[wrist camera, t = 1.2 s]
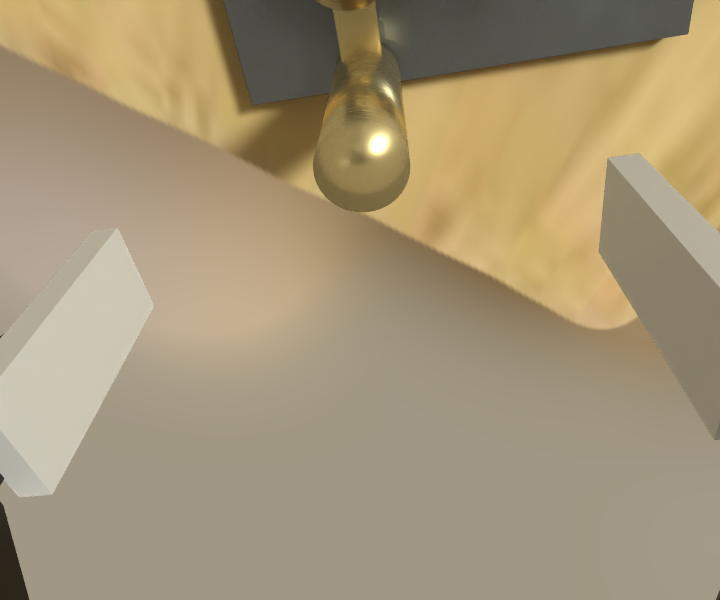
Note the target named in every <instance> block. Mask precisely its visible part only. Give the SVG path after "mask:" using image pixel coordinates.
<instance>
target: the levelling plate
mask: <svg viewBox="0 0 720 600" xmlns="http://www.w3.org/2000/svg"><path fill="white" fill-rule="evenodd" d="M223 1H224V4H225V8H226V12H227V15H228V19H229V22H230V26H231V30H232V33H233V37H234V40H235V44H236V48H237V51H238V55H239V59H240V62H241V66H242V69H243V73H244V77H245V80H246V84H247V87H248V91H249V95H250V98H251V102H252V105H258V104H264V103H271V102H277V101H283V100H289V99H295V98H301V97H307V96H313V95H319V94H326V93H330V89H331V84H332V80H333V76H334V72H335V68H336V64H337V62H338V60H339V58H340V56H341V54H340V48H339V42H338V37H337V31H336V25H335V20H334V14H333V9H331V8H328V7H326V6H324V5H322V4H320V3H319V2H317V1H316V0H223ZM693 2H694V0H376V1H375V3H376V10H377V18H378V25H379V33H380V40H381V45H382V46H384V47H385V48H387V49H388V50H389V51H390V52H391V53H392V54H393V55H394V57H395V59H396V61H397V63H398V66H399V70H400V78H401V81H405V80H411V79H417V78H423V77H429V76H435V75H441V74H448V73H454V72H460V71H466V70H472V69H478V68H484V67H490V66H496V65H502V64H509V63H515V62H521V61H527V60H533V59H539V58H545V57H551V56H557V55H564V54H570V53H576V52H582V51H588V50H594V49H600V48H606V47H612V46H618V45H625V44H631V43H637V42H643V41H649V40H655V39H661V38H667V37H673V36H679V35H686V34H688V32H689V26H690V20H691V14H692V8H693Z"/></svg>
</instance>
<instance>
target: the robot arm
mask: <svg viewBox="0 0 720 600" xmlns="http://www.w3.org/2000/svg"><path fill="white" fill-rule="evenodd" d="M599 253H600V255H601V256H602V258H603V260H604V261H605V263H606V264H607V266H608V268H609V269H610V271H611V273H612V274H613V276H614V278H615V279H616V281H617V282H618V284H619V286H620V287H621V289H622V291H623V292H624V294H625V295H626V297H627V299H628V300H629V302H630V304H631V305H632V307H633V309H634V310H635V312H636V313H637V315H638V317H639V318H640V320H641V322H642V323H643V325H644V326H645V328H646V330H647V331H648V333H649V335H650V336H651V338H652V339H653V341H654V343H655V344H656V346H657V347H658V349H659V351H660V352H661V354H662V356H663V357H664V359H665V360H666V362H667V364H668V365H669V367H670V369H671V370H672V372H673V374H674V375H675V377H676V379H677V380H678V382H679V384H680V385H681V387H682V388H683V390H684V392H685V393H686V395H687V397H688V398H689V400H690V401H691V403H692V405H693V406H694V408H695V409H696V411H697V413H698V415H699V416H700V418H701V419H702V421H703V423H704V424H705V426H706V428H707V429H708V431H709V432H710V434H711V436H712V437H713V439H714V440H720V233H719V232H718V231H717V230H716V229H715V228H714V227H713V226H712V225H711V224H710V223H709V222H708V221H707V220H706V219H705V218H704V217H703V216H702V215H701V214H700V213H699V212H698V211H697V210H696V209H695V208H694V207H693V206H692V205H691V204H690V203H689V202H688V201H687V200H686V199H685V198H684V197H683V196H682V195H681V194H680V193H679V192H678V191H677V190H676V189H675V188H674V187H673V186H672V185H671V184H670V183H669V182H668V181H667V180H666V179H665V178H664V177H663V176H662V175H661V174H660V173H659V172H658V171H657V170H656V169H655V168H654V167H653V166H652V165H651V164H650V163H649V162H648V161H647V160H646V159H645V158H644V157H643V156H642V155H641V154H640V153H639V154H632V155H625V156H618V157H611V158H608V159H607V170H606V180H605V191H604V201H603V212H602V222H601V233H600V243H599ZM153 308H154V304H153V302H152V300H151V298H150V295H149V293H148V291H147V289H146V287H145V285H144V283H143V281H142V279H141V277H140V275H139V272H138V270H137V268H136V266H135V264H134V262H133V260H132V258H131V255H130V254H129V251H128V249H127V247H126V245H125V243H124V241H123V238H122V236H121V234H120V232H119V230H118V228H110V229H103V230H97V231H92V232H91V233H90V234H89V235H88V236H87V237H86V238H85V240H84V241H83V242H82V243H81V244H80V246H79V247H78V248H77V249H76V250H75V251H74V253H73V254H72V255H71V256H70V257H69V258H68V260H67V261H66V262H65V263H64V264H63V266H62V267H61V268H60V269H59V270H58V271H57V272H56V274H55V275H54V276H53V277H52V278H51V280H50V281H49V282H48V283H47V284H46V286H45V287H44V288H43V289H42V290H41V291H40V292H39V294H38V295H37V296H36V297H35V298H34V299H33V301H32V302H31V303H30V304H29V305H28V307H27V308H26V309H25V310H24V311H23V312H22V314H21V315H20V316H19V317H18V318H17V320H16V321H15V322H14V323H13V324H12V325H11V326H10V328H9V329H8V330H7V331H6V332H5V333H4V334H3V335H2V336H0V485H1V483H2V482H3V480H5V482H6V483H7V484H8V485H9V486H10V487H11V489H12V490H13V491H14V492H15V493H16V494H17V496H18V497H27V496H39V495H51V494H53V492H54V490H55V488H56V486H57V485H58V483H59V481H60V479H61V477H62V475H63V474H64V472H65V470H66V468H67V466H68V464H69V463H70V461H71V459H72V457H73V455H74V453H75V452H76V450H77V448H78V446H79V444H80V442H81V441H82V439H83V437H84V435H85V433H86V431H87V429H88V428H89V426H90V424H91V422H92V420H93V418H94V416H95V415H96V413H97V411H98V409H99V407H100V406H101V404H102V402H103V400H104V398H105V396H106V395H107V393H108V391H109V389H110V387H111V385H112V384H113V382H114V380H115V378H116V376H117V374H118V372H119V371H120V369H121V367H122V365H123V363H124V362H125V360H126V358H127V356H128V354H129V352H130V350H131V349H132V347H133V345H134V343H135V341H136V340H137V338H138V336H139V334H140V332H141V330H142V329H143V326H144V325H145V323H146V321H147V319H148V318H149V316H150V314H151V312H152V310H153ZM0 600H29V597H28V593H27V590H26V586H25V582H24V579H23V575H22V572H21V568H20V565H19V561H18V557H17V553H16V550H15V546H14V543H13V539H12V536H11V532H10V528H9V524H8V521H7V517H6V513H5V510H4V506H3V505H2V503H1V502H0ZM716 600H720V591H719V594H718V596H717V599H716Z"/></svg>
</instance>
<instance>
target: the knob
mask: <svg viewBox="0 0 720 600" xmlns="http://www.w3.org/2000/svg"><path fill="white" fill-rule="evenodd" d="M316 1H317V2H319V3H320V4H322V5H324V6H326V7H328V8H331V9H333V14H334V20H335V25H336V31H337V37H338V42H339V48H340V54H341V56H340V58H339V60H338V62H337V64H336V68H335V72H334V76H333V80H332V84H331V89H330V93H329V97H328V101H327V105H326V109H325V114H324V118H323V122H322V126H321V130H320V134H319V139H318V143H317V147H316V151H315V155H314V161H313V171H314V177H315V180H316V183H317V185H318V187H319V189H320V190H321V192H322V193H323V194H324V195H325V197H326V198H327V199H329V200H330V201H331V202H332V203H334V204H335V205H337V206H339V207H341V208H343V209H346V210H349V211H354V212H370V211H375V210H378V209H381V208H383V207H385V206H387V205H389V204H390V203H392V202H393V201H394V200H395V199H396V198H397V197H398V196H399V195H400V194H401V193H402V191H403V190H404V188H405V186H406V184H407V181H408V178H409V174H410V159H409V150H408V141H407V132H406V123H405V114H404V105H403V96H402V87H401V78H400V70H399V66H398V63H397V61H396V59H395V57H394V55H393V54H392V53H391V52H390V51H389V50H388V49H387V48H385V47H384V46H382V45H381V40H380V33H379V25H378V18H377V10H376V3H375V1H376V0H316Z"/></svg>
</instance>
